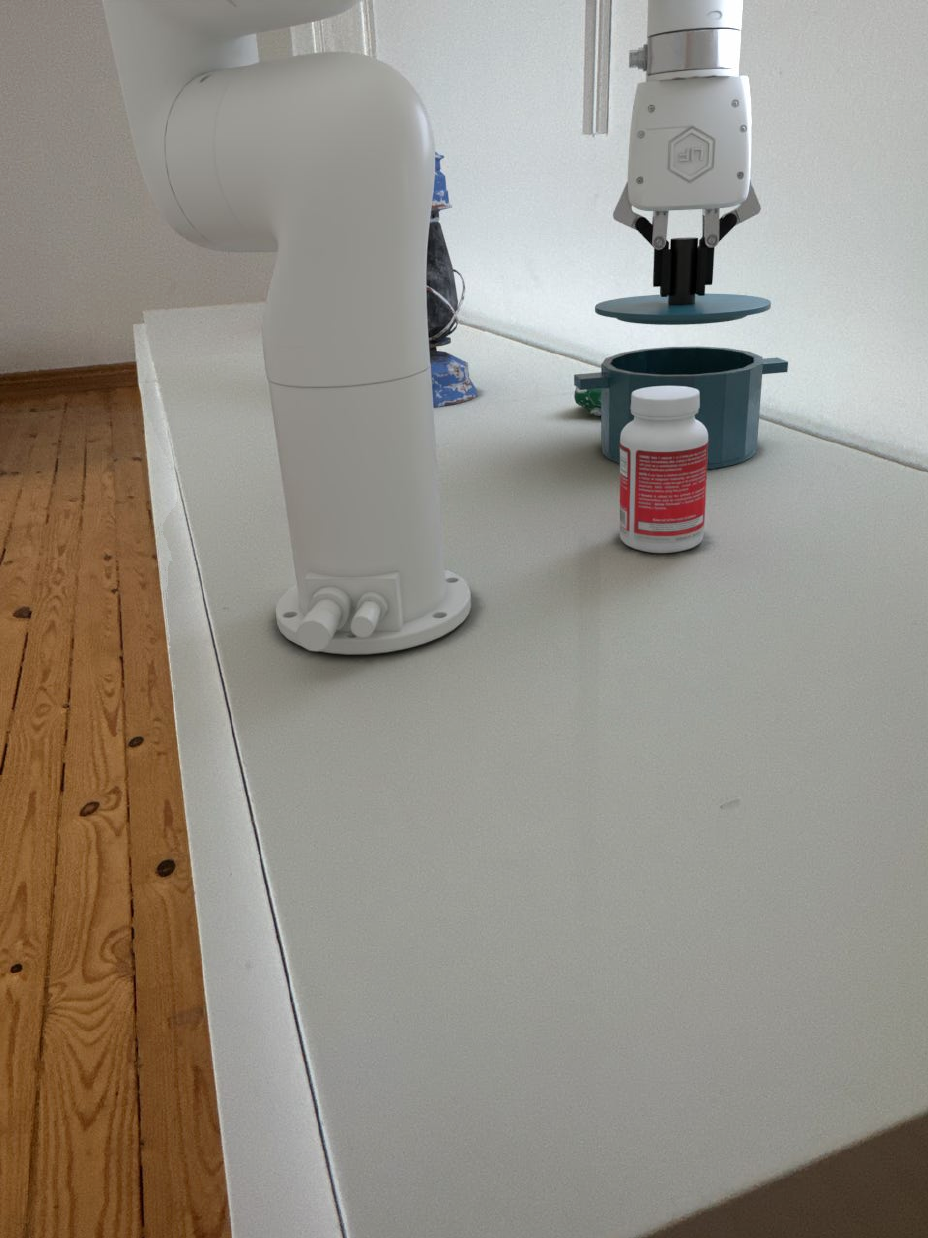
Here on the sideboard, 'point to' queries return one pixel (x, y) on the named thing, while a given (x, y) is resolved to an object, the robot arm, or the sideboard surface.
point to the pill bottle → (663, 471)
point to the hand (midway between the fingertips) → (681, 292)
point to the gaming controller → (589, 399)
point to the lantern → (443, 307)
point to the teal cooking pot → (713, 371)
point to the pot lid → (683, 297)
